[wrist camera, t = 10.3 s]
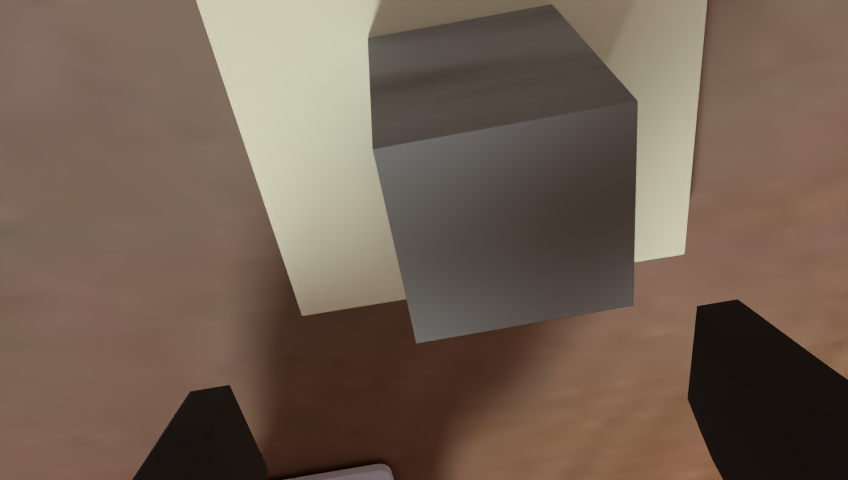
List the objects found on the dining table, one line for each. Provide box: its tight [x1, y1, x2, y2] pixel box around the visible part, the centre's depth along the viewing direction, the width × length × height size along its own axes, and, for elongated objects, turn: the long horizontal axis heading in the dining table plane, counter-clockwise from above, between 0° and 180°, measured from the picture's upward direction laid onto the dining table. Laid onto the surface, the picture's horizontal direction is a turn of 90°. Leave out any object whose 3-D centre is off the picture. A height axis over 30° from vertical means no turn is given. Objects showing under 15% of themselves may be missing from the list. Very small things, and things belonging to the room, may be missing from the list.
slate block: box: [368, 4, 638, 344], centre depth 15 cm, size 4×4×6 cm
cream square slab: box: [196, 0, 707, 316], centre depth 18 cm, size 12×12×2 cm
